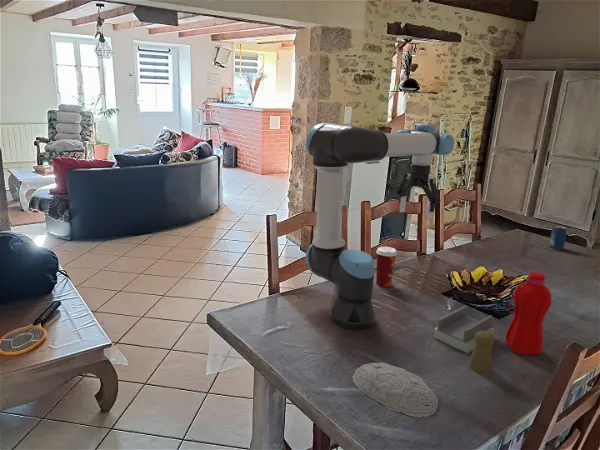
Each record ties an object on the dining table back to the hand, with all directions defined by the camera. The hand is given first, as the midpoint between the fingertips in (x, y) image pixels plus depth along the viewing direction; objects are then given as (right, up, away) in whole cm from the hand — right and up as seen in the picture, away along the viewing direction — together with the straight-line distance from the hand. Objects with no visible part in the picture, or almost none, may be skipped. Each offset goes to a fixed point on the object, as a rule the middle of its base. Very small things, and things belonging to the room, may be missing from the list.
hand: (415, 215), depth 186 cm
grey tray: (+5, -40, -40) cm, 57 cm away
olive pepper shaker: (+4, -45, -56) cm, 72 cm away
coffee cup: (-13, -28, 0) cm, 31 cm away
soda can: (+88, -17, +54) cm, 105 cm away
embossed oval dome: (-23, -48, -67) cm, 85 cm away
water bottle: (+21, -43, -45) cm, 65 cm away
